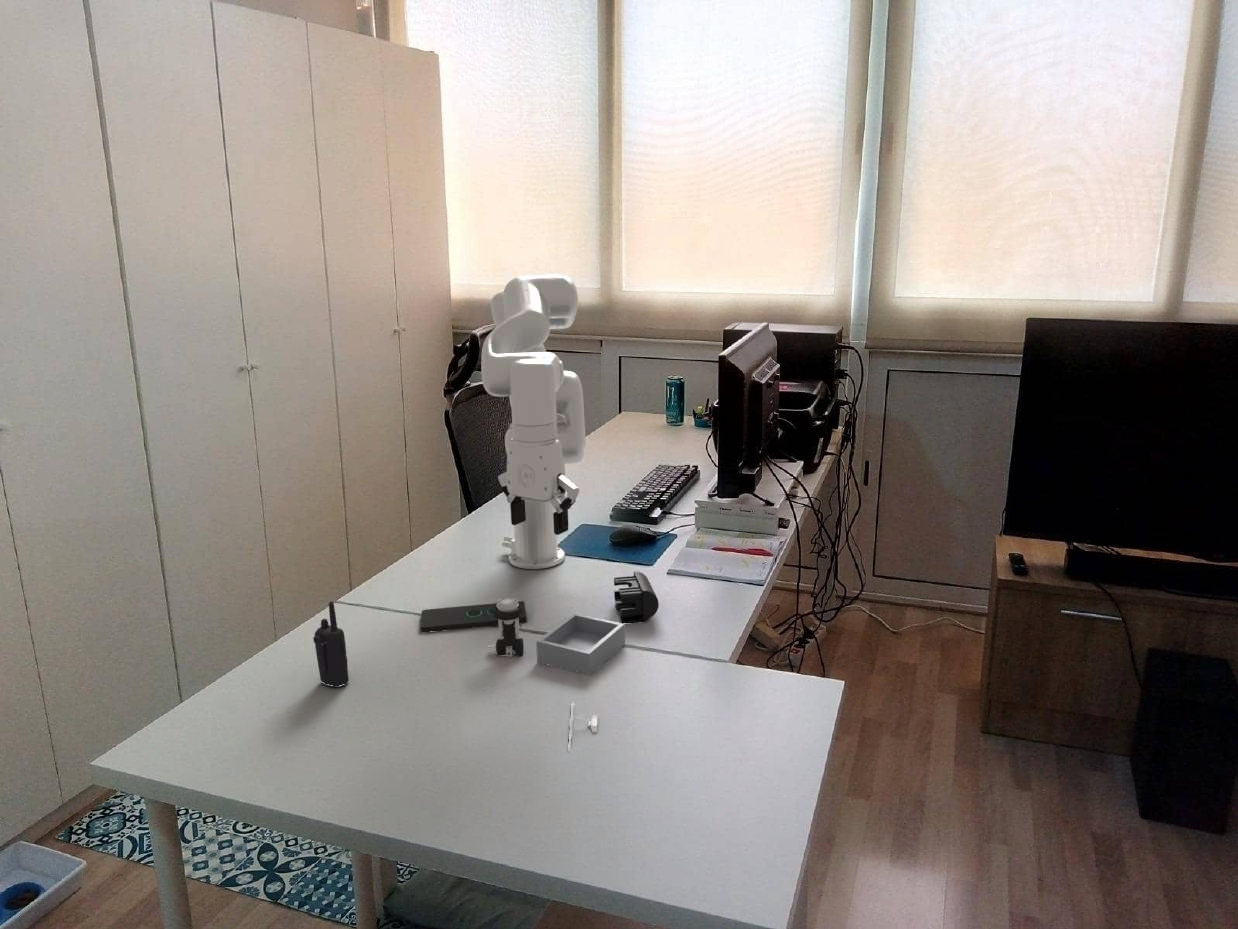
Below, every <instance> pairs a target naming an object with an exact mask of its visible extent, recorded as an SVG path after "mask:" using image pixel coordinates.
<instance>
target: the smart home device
mask: <svg viewBox="0 0 1238 929" xmlns="http://www.w3.org/2000/svg"><path fill="white" fill-rule="evenodd" d="M518 602H520V603H522V604H523V610H522V614H521V616H520V617H519V623H522V624H526V623H528V616H527V611H526V605H525V601H523V600H518ZM496 603H497V602H494V603H484V604H471V605H462V606H453V607H452V606H450V607H441V608H439V607H438V608H430V609H429V608H428V609H427V608H426V609H423V610H421V616H420V632H421V633H423V632H426V633H431V632H430V631H437V632H444V631H443V630H448V631H458V630H465V629H466V630H469V629H475V628H476V629H477V628H490V627H499V622H498V619H497V618H495V616H494V612H493V609H492V608H493V606H494V605H495V604H496ZM513 621H514V625H515V620H513ZM503 622H504V621H502V623H503Z"/></svg>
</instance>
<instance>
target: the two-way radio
mask: <svg viewBox="0 0 1238 929" xmlns="http://www.w3.org/2000/svg"><path fill="white" fill-rule="evenodd" d="M328 610H329V611H328V612H329V621H330V622H329V621H328V619H327V618H323V619H321V621H320V627H318V628H317V630H315V632H314V636H313V643H314V648H315V652H316V653H315V654H316V659H317V665H318V672H319V678H320V682H321V681H322V682H324V683H325V684H329V685H333V686H339V685H342V684H346V683H347V682H348V681H350V680H349V669H348V668H349V667H348V656H347V647H346V637H345V633H344V629H342V628H340V627H338V624H337V617H336V610H335V603H334V601H329V602H328ZM329 623H330V625H329ZM348 683H349V682H348ZM348 683H347V684H348ZM347 684H346V685H347Z"/></svg>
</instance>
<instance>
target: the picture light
mask: <svg viewBox="0 0 1238 929" xmlns="http://www.w3.org/2000/svg"><path fill="white" fill-rule="evenodd" d="M571 703H572V702H571ZM571 703H570V705H574V703H575V702H574V703H572V704H571ZM572 707H573V706H572ZM572 707H570V708H572ZM578 716H583V717H578ZM575 717H576V718H575ZM573 718H574V720H573V721H572V720H570V719H569V720H570V726H572V722H573V723H574V721H575V720H577V719H582V720H584V721H586V723H587V727H588V726H590V725H591V726H590V730H591V729H592V730H591V732H592V733H598V715H592V718H591V720H589V718H588V717H587V715H584V714H576V715H574V717H573ZM573 718H572V719H573ZM588 722H589V723H588ZM570 729H571V728H570ZM570 732H571V731H570ZM569 736H571V735H569ZM569 739H571V737H569ZM569 743H570V741H569ZM568 747H570V745H568ZM569 749H570V748H569Z"/></svg>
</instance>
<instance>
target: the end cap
mask: <svg viewBox="0 0 1238 929" xmlns="http://www.w3.org/2000/svg"><path fill="white" fill-rule="evenodd" d="M613 585H614V586H628V587H621V588H618V590H614V594H613V595H614V596H613V597H614V601H615V603H614V606H615V609H617V610H616V611H617V614H618V616H619V620H620V623H632V624H639V623H638V622H642V623H645V622H647V621H649V620H650V619H651V618H653V617H654V616H655V615H656V613H657V612H658V610H659V607H660V603H659V598H658V596H657V595H656V593H655V591H654V588H653V587H652V584H651V582H650V581H649V579H648V577H647V576H646V575H645V574H644V573H643V572H642V571H641V572H640V571H635V570H634V571H633V575H629V576H628V575H627V576H617V577H614V578H613Z"/></svg>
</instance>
